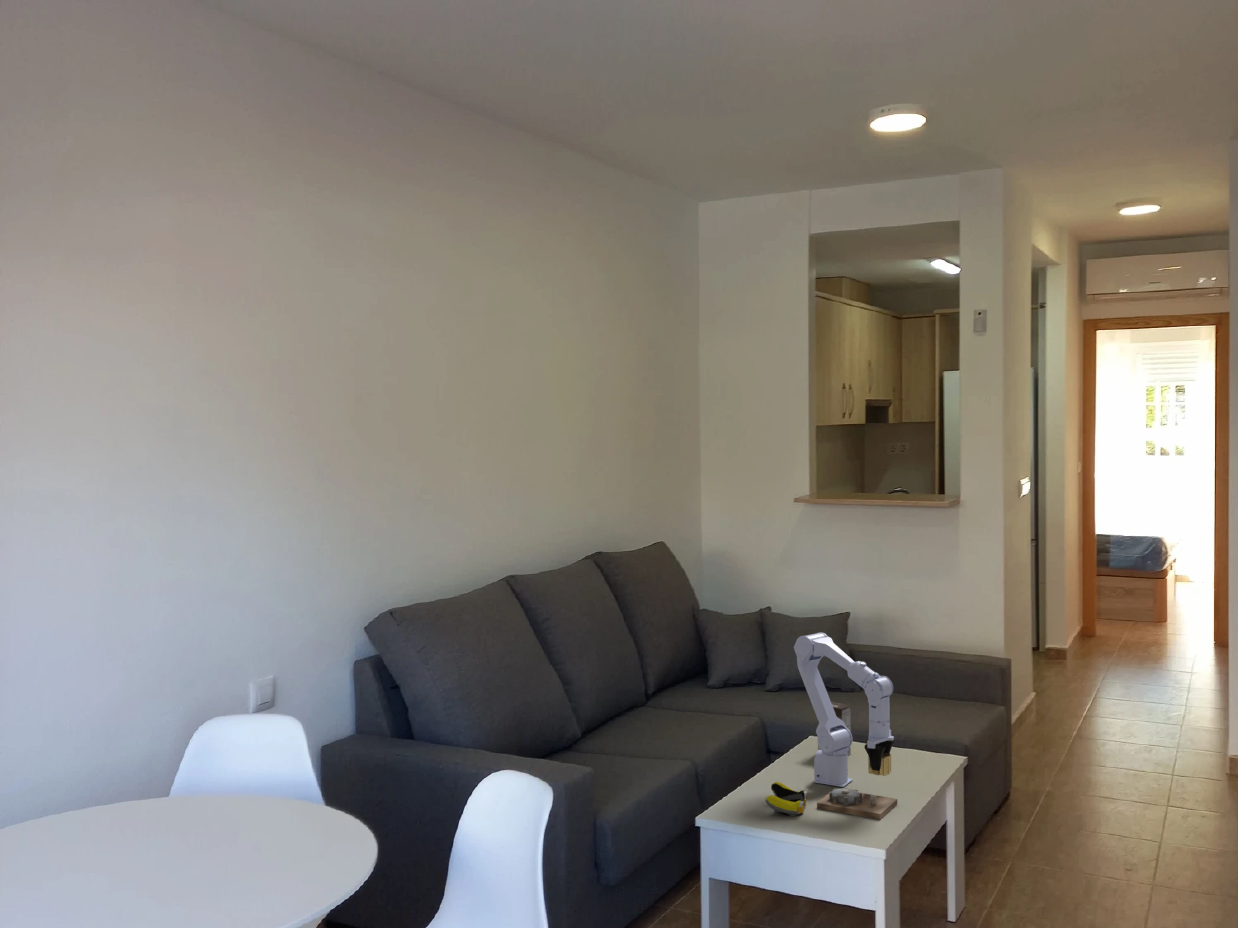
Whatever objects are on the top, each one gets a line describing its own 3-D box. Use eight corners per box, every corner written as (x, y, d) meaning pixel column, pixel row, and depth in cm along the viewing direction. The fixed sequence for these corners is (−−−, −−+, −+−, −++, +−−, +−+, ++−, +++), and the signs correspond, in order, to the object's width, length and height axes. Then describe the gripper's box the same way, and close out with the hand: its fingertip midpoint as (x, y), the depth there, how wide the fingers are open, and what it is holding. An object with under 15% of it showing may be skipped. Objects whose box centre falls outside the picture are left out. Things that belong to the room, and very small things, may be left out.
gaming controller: (765, 817, 292) (802, 819, 289) (765, 796, 292) (802, 799, 289) (772, 799, 307) (807, 801, 304) (771, 779, 306) (807, 782, 304)
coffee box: (816, 753, 350) (816, 704, 350) (827, 749, 355) (826, 700, 354) (841, 758, 344) (841, 708, 343) (852, 754, 349) (851, 704, 348)
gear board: (817, 807, 298) (816, 793, 298) (835, 793, 310) (835, 779, 310) (880, 819, 289) (880, 803, 288) (897, 804, 300) (897, 789, 300)
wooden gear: (867, 773, 308) (866, 755, 308) (873, 768, 313) (873, 750, 313) (886, 776, 305) (886, 758, 305) (892, 771, 310) (892, 753, 310)
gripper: (884, 727, 300) (884, 776, 301) (901, 716, 313) (901, 762, 313) (860, 724, 304) (860, 772, 305) (877, 712, 316) (878, 759, 317)
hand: (879, 767), depth 309 cm, fingers closed on wooden gear, 6 cm apart
